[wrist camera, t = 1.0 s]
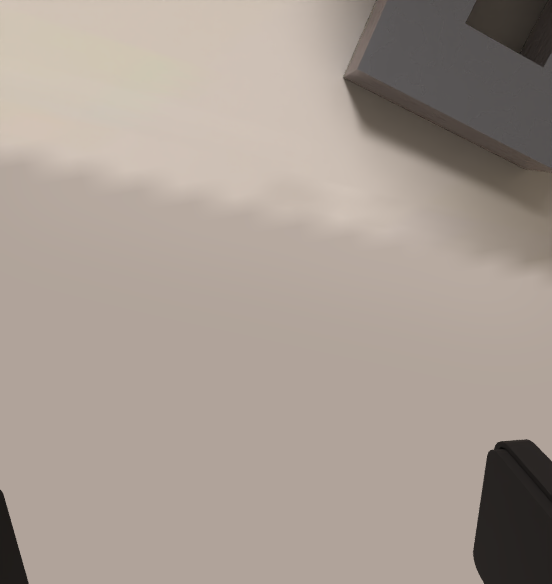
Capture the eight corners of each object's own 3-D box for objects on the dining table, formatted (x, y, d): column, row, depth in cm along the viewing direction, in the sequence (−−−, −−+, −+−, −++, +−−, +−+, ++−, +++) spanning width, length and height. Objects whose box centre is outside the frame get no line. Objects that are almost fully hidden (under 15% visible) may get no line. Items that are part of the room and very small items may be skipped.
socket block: (457, -187, 28) (492, -238, 24) (654, -55, 31) (712, -82, 27) (343, 77, 32) (357, 69, 28) (526, 169, 35) (561, 173, 31)
